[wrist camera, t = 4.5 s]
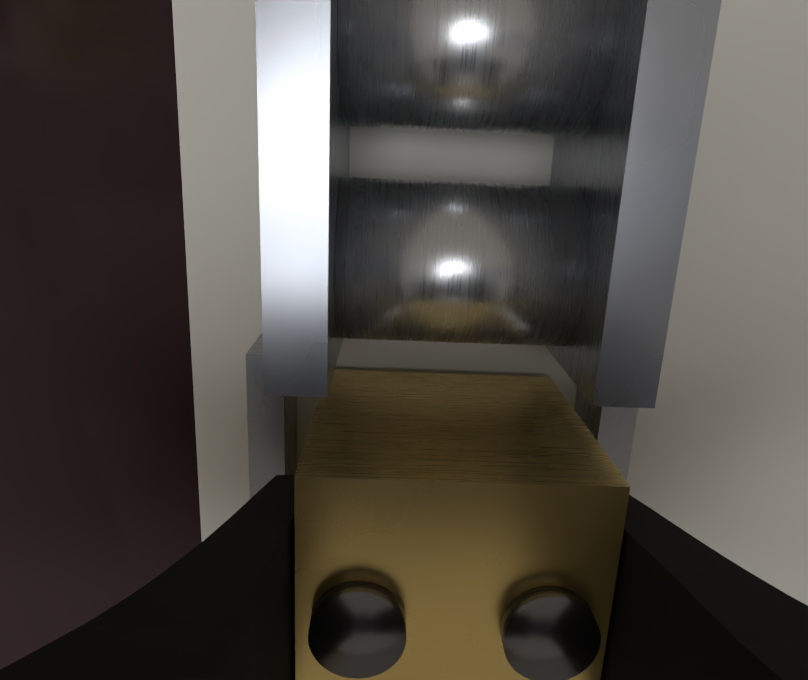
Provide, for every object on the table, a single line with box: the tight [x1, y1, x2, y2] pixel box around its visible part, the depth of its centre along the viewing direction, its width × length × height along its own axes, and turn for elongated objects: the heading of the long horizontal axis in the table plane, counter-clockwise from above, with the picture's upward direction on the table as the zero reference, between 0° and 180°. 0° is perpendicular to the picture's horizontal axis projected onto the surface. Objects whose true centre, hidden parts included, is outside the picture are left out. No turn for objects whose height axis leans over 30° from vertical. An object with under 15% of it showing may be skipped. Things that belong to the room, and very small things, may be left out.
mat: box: [172, 0, 808, 606], centre depth 12 cm, size 14×18×1 cm
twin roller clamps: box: [245, 0, 722, 499], centre depth 11 cm, size 6×18×4 cm, turn 177°
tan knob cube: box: [294, 369, 630, 680], centre depth 10 cm, size 4×4×4 cm
